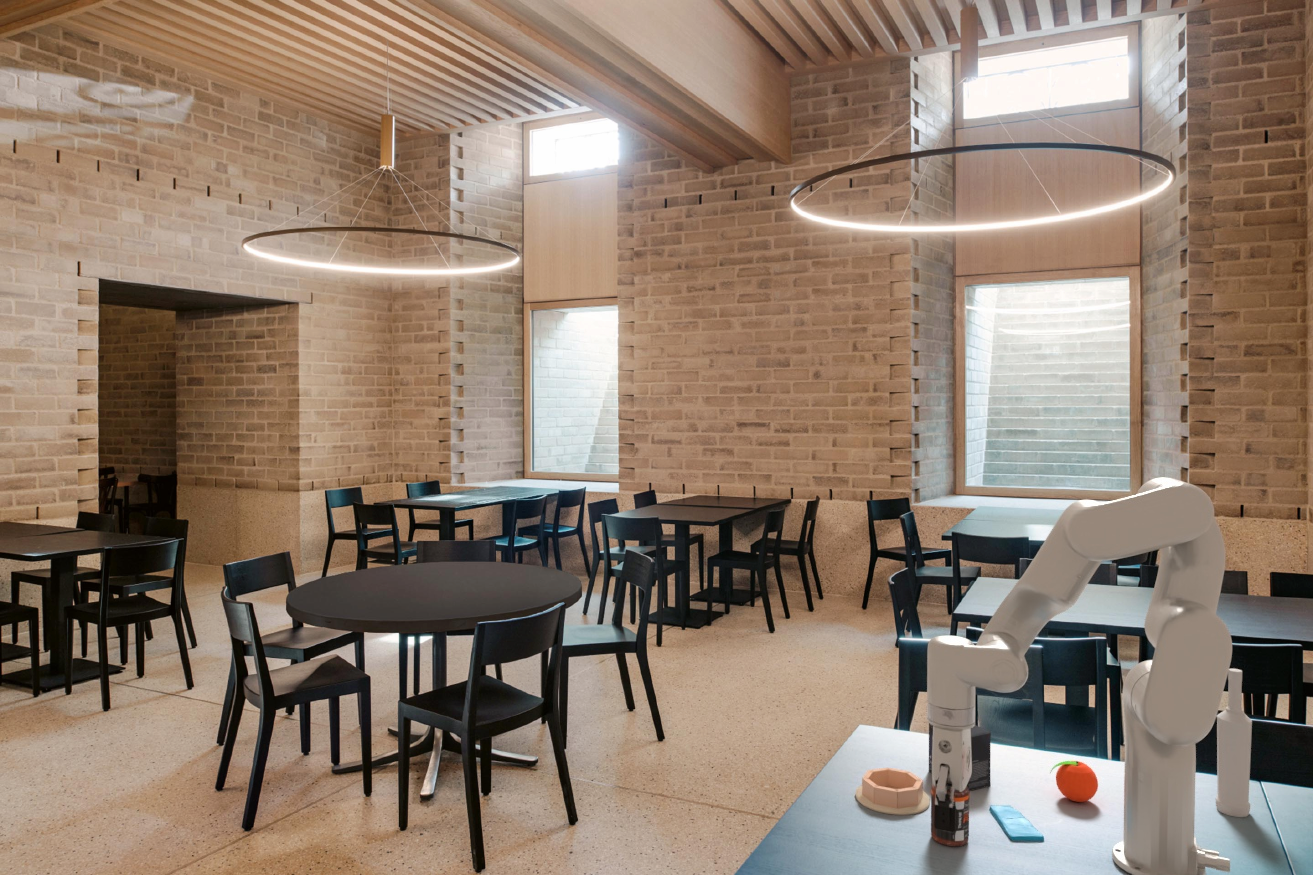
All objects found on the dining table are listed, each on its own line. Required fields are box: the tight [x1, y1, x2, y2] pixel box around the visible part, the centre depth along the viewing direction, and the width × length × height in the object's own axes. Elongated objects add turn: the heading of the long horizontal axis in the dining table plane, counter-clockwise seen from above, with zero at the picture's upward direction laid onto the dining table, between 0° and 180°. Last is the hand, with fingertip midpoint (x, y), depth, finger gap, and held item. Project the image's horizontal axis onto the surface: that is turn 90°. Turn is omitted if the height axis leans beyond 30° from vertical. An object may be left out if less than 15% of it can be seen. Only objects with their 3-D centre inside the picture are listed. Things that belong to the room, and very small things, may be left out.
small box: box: [928, 722, 992, 792], centre depth 172 cm, size 11×6×10 cm, turn 25°
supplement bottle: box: [930, 771, 970, 847], centre depth 148 cm, size 6×6×11 cm
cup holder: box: [855, 767, 931, 816], centre depth 163 cm, size 13×13×4 cm
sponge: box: [988, 804, 1045, 842], centre depth 153 cm, size 2×12×6 cm
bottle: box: [1215, 668, 1253, 818], centre depth 158 cm, size 5×5×25 cm
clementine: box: [1049, 760, 1099, 803], centre depth 163 cm, size 8×7×7 cm
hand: (949, 818), depth 148 cm, fingers open, 8 cm apart
